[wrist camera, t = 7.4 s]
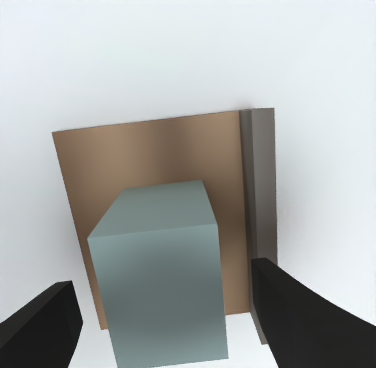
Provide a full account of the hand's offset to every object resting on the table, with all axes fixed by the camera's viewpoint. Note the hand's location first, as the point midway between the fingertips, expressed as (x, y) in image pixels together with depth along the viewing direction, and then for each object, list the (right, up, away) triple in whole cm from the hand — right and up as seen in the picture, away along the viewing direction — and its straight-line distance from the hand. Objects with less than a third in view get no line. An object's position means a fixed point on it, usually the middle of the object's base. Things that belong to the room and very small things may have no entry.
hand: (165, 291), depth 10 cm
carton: (0, +1, +5) cm, 5 cm away
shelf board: (0, +2, +6) cm, 6 cm away
